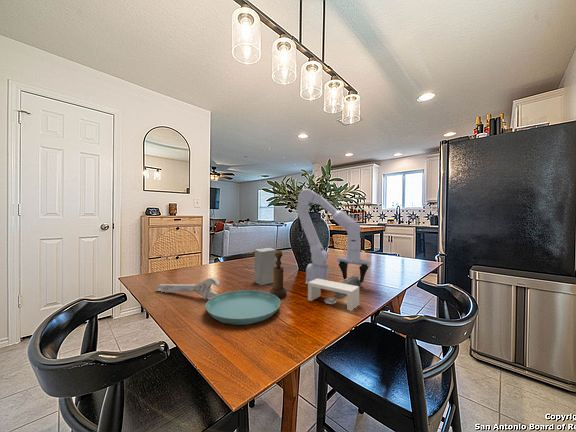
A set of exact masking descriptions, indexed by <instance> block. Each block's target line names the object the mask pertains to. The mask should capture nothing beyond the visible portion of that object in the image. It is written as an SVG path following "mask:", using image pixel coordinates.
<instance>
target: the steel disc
mask: <svg viewBox="0 0 576 432" xmlns="http://www.w3.org/2000/svg"><path fill="white" fill-rule="evenodd" d="M323 302H324V303H325V304H326V305H336V304H337V299H335V298H331V297H328V298H324V300H323ZM335 303H336V304H335Z"/></svg>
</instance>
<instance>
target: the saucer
mask: <svg viewBox="0 0 576 432" xmlns="http://www.w3.org/2000/svg"><path fill="white" fill-rule="evenodd" d="M280 306H281V299H279V298H278V297H276V296H275V295H273V294H270V292H267V291H261V290H253V289H252V290H250V289H247V290H246V289H245V290H241V289H240V290H233V291H227V292H224V293H223V292H222V293H220V294H217V295H216V296H214V297H212V298H209V299H208V300H207V302H206V303H205V309H206V311H207V313H208V315H210V316H211V317H212V318H213V319H215V320H216V321H218V322H221V323H223V324H227V325H237V326H238V325H240V326H242V325H243V326H244V325H252V324H256V323H260V322H263V321H266V320H267V319H269V318H271V317H272V316H273V315H274V314H276V312H277V311H278V310H279V308H280Z"/></svg>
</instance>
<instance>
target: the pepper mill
mask: <svg viewBox="0 0 576 432" xmlns="http://www.w3.org/2000/svg"><path fill="white" fill-rule="evenodd" d="M275 256H276V267H274V268H273V283H272V287H271V289H269V293H270V294H273V295H275V296H276V297H278V298H279V300H281V299H285V298H286V297H287V294H288V292H287V289H286V288H285V287H284V267H283V266H282V261H281V259H282V257H283V251H282V250H281V249H278V250H276V252H275Z"/></svg>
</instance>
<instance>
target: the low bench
mask: <svg viewBox="0 0 576 432" xmlns="http://www.w3.org/2000/svg"><path fill="white" fill-rule="evenodd" d="M321 289H323V290H327V291H331V292H334V293H335V292H340V293H344V294H345V295H346V296H347V297H346V298H347V299H346V301H347V303H346V305H347V306H346V307H347V308H346V310H350V311H349V312H351V311H352V310H353V309H354V308H355V309H357V308H358V307H359V306H360V287H359V286H354V285H349V284H344V283H341V282H337V281H332V280H328V279H327V280H323V279H318V278H317V279H315V280H312V281H310V282H308V284H307V301H309V302H312V301H314V300H316V299H317V298H319V297H321V294H322V293H321V292H322V290H321ZM358 305H359V306H358ZM357 306H358V307H357ZM355 309H354V310H355ZM354 310H353V311H354ZM353 311H352V312H353Z"/></svg>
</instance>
